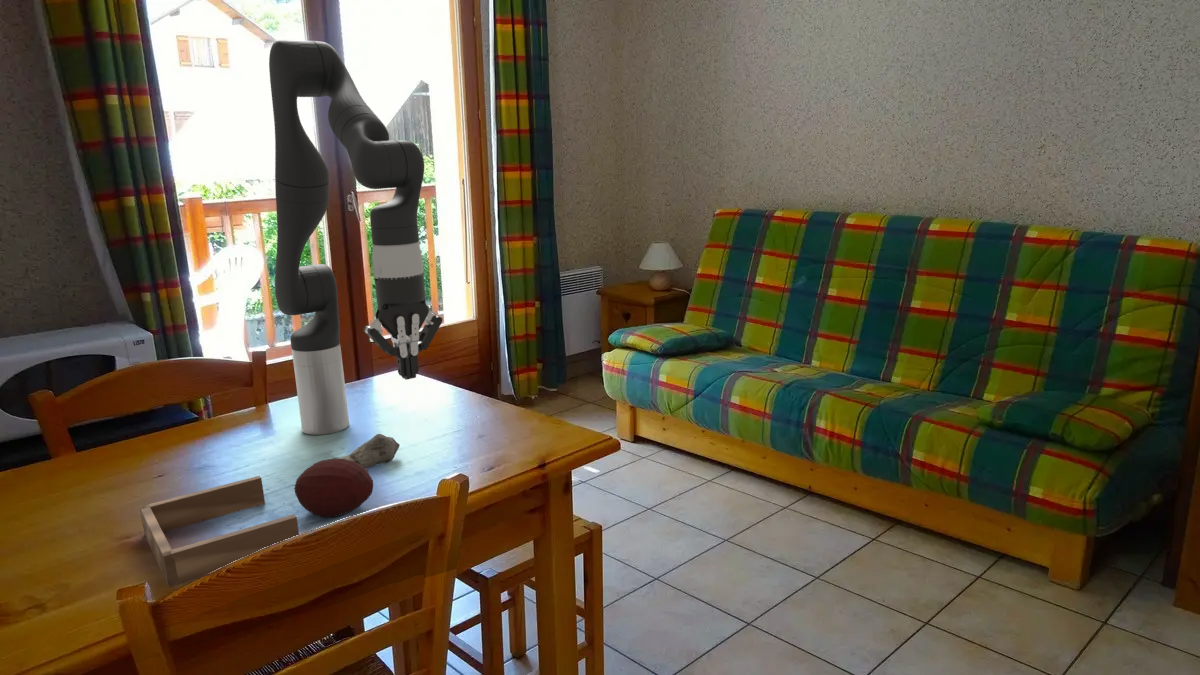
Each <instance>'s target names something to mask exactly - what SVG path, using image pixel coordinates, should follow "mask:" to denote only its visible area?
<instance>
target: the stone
mask: <svg viewBox="0 0 1200 675" xmlns="http://www.w3.org/2000/svg"><path fill="white" fill-rule="evenodd" d="M399 448H400V443H399V442H397V441H396V440H395V439H394V437H390V436H386V435H385V434H382V433H377V434H375V435H374V436H373V437H372V438H371V439H369V440H367V441H366V442H364V443H363V444H361V445H360V446H358V447H356V449H354V450H353V451H352V452H351V453H350V454H349V455H345V456H341V457H339V459H346V460H350V461H354V462H356V463H358V464H359V465H361V466H363V467H364V468H365V469H366V470H368V469H369V468H370V469H371V468H373V467H376V466H377V465H380V464H384V463H386V464H387V463H390V462H392V461H393V460H394V458H395V456H396V454H397V452H398V450H399Z"/></svg>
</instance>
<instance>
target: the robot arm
mask: <svg viewBox="0 0 1200 675" xmlns="http://www.w3.org/2000/svg"><path fill="white" fill-rule="evenodd" d="M268 61H269V62H268V67H269V68H268V70H269V81H270V82H269V84H270V91H271V103H272V112H273V121H274V122H273V124H274V139H275V140H274V143H275V144H274V145H275V146H274V148H275V150H274V151H275V154H274V155H275V157H274V160H275V162H274V163H275V164H274V166H275V167H274V168H275V169H274V183H275V186H274V187H275V190H274V191H275V204H276V205H275V208H276V209H275V210H276V229H277V230H276V231H277V233H276V234H277V239H276V240H277V241H276V256H275V257H276V258H275V271H274V272H275V273H274V274H275V276H274V293H275V300H276V304H277V306H278V309H279V311H281V313H282V314H284V315H285V316H298V315H306V314H312V313H314V316H313V318H312V319H311V320H310V321H309V322H308V323H306V324H305V325H303V326H302V327H300V328H299V329H296V330H295V331H293V333H291V335H290V339H289V340H290V341H289V342H290V347H291V348H290V349H291V355H292V362H293V369H294V377H295V384H296V394H297V399H298V400H297V401H298V408H299V417H300V424H301V430H302V432H303V433H304V434H306V435H311V436H313V435H315V436H317V435H319V436H320V435H328V434H335V433H337V432H340V431H343V430H344V429H346V428H348V427H349V425H350V418H349V409H348V399H347V391H346V382H345V373H344V366H343V357H342V356H343V355H342V348H341V340H340V334H341V333H340V331H341V329H340V328H341V325H340V318H339V317H340V316H339V299H338V298H339V296H338V295H339V294H338V285H337V280H336V277H335V274H334V272H333V270H332V268H331V267H330V266H329V265H328V264H324V263H320V264H311V265H309V264H308V265H303V266H302V265H301V266H300V263H301V258H302V256H303V251H304V248H305V247H306V244H307V242H308V241H309V239H310V237H311V236H312V235H313V233H314V232H315V230H316V229H317V228H318V226H319V224H320V223H321V221H322V219H323V218H324V216H325V214H326V212H327V210H328V207H329V201H330V200H329V199H330V193H329V192H330V173H329V169H328V167H327V164H326V162H325V160H324V158H323V157H322V155H321V153H320V152H319V151H318V149H317V147H316V146H315V145H314V143H313V142H312V140H311V139H310V137H309V135H308V134H307V133H306V131H305V128H304V126H303V124H302V123H301V119H300V115H299V108H298V98H322V97H329V98H331V101H330V104H329V106H328V110H327V111H328V112H327V119H328V124H329V127H330V128H331V130H332V132H333V134H334V135H335V137H336V139H338V140H339V142H340V143H341V144H342V146H343V147H344V148H345V149H346V151H347V154H348V157H349V160H350V163H351V168H352V171H353V175H354V178H355V180H356V182H358V183H359V184H360V185H361V186H363V187H365V188H367V189H372V190H381V189H382V190H383V189H394V188H395V191H394V195H393V197H392V198H391V200H390V201H387V202H385V203H381V204H378V205H376V206H374V207H373V208H372V209H371V210H370V214H369V219H370V221H369V222H370V230H371V241H372V266H373V276H374V278H373V279H374V288H375V296H376V297H375V298H376V303H377V310H376V312H375V320H373V321H372V322H371V323H370V324H369V325H365V326H364V327H363V332H364V334H366V336H368V338H370V339H371V340H372V341H373V343H374V344H376V346H377V347H379V349H381V350H382V352H383V353H385V354H387V355H389V356H391V357H394V356H395V358H396V366H397V374H398V375H399V376H400V377H401V378H402V379H404V380H406V381H407V380H410V379H415V378H417V374H419V370H420V369H419V359H418V355H419V353H420V352H422V351H424V350H427V349H428V348H429V347H430V344H431V342H432V341H433V339H434V337H435V335H436V333H437V332H438V330H439V328H440V326H441V324H442V323H443V317H441V316H439V315H436V314H434V313H433V312H430V309H429V306H428V305H427V303H426V288H425V287H426V286H425V277H424V262H423V254H422V251H421V246H420V239H419V238H420V237H419V226H418V208H419V203H420V196H421V190H422V185H423V181H424V174H425V161H424V160H425V159H424V156H423V153H422V152H421V151H422V150H420V148H419V147H418V146H417V144H416V143H414V142H413V141H411V140H405V139H404V140H403V139H401V140H399V139H398V140H390V134H389V132H388V129H387V127H386V125H385V124H384V123H383V122H382V120H381V119H380V118H379V117H378V116H377V115H376V113H374V111H373V110H372V109H371V108H370V106H368V104H367V103H366V102H365V100H364V99H363V97H362V96H361V94H360V92H359V91H358V88H357V87H356V86H357V85H356V84H355V82H354V80H353V78H352V77H351V74H350V73H349V71H348V68H347V67H346V65H345V63H344V61H343V60H342V58H341V56H340V54H339V53H338V51H337V50H336V49H335V48H334V47H333V46H332V45H331V44H329V43H328V42H324V41H318V40H302V39H301V40H298V39H297V40H296V39H278V40H276V41H274V42H273V43H272V45H271V46H270V50H269V58H268ZM423 324H424V325H423ZM422 326H423V328H422ZM382 328H383V329H384V330H385V331H386V332H387V333H388V334H389V335H390V340H391V342H392V344H391V343H390V342H389V341H388V340H387V339H386V338H385V337H384V336H383V329H382ZM421 328H422V329H421ZM420 330H421V331H420Z"/></svg>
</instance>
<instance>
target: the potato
mask: <svg viewBox="0 0 1200 675" xmlns="http://www.w3.org/2000/svg"><path fill="white" fill-rule="evenodd" d="M293 490H294V493H295V496H296V498H297V501H298V502H299V504H300V505H301V507H303V508H304V510H306V511H307V512H309V513H311V514H312V515H314V516H318V517H321V518H335V517H337V516H341V515H345V514H348V513H350V512H352V511H354V510H355V509H357V508H359V507H360V506H362V504H363V503H365V502H366V501H367V500H368V499H369V498H370V496H371V495H372V493H373V490H374V480H373V479H372V476H371V475H370V473H369V471H368V469H365V468H364V467H363V466H361V465H359V464H358V463H356V462H354V461H350V460H346V459H340V458H327V459H323V460H319V461H317V462H315V463H313V464H312V465H310V466H309V467H307V468H306V469H305V470H303V471H302V472H301V474H300V475H299V476H298V477H297V479H296V481H295V484H294V488H293Z"/></svg>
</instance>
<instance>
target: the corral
mask: <svg viewBox="0 0 1200 675" xmlns="http://www.w3.org/2000/svg"><path fill="white" fill-rule="evenodd" d="M264 493H265V492H264V486H263V479H262V477H261V476H260V475H257V476H254V477H249V478H245V479H241V480H237V481H233V482H230V483H224V484H222V485H218V486H214V487H211V488H210V487H209V488H207V489H202V490H199V491H195V492H191V493H187V494H182V495H179V496H175V497H172V498H168V499H165V500H160V501H156V502H152V503H149V504H145V505H140V506H139V512H140V517H141V522H142V528H143V532H144V536H145V538H146V540H147V543H148V544H149V547H150V549H151V551H152V553H153V555H154V557H155V560H156V562H157V564H158V566H159V569H160V571H161V572H162V575H163V577H164V579H165V581H166V584H167V585H168V588H170V587H174V586H176V585H180V584H184V583H186V582H189V581H192V580H196V579H199V578H202V577H201V576H203V577H205V576H204V575H206V574H208V573H210V572H212V571H214V570H216V569H218V568H220V567H223V566H225V565H227V564H229V563H231V562H233V561H235V560H238V559H240V558H242V557H245V556H247V555H250V554H252V553H254V552H256V551H258V550H260V549H262V548H264V547H267V546H270V545H272V544H274V543H277V542H280V541H283V540H285V539H288V538H291V537H293V536H296V535H299V536H300V530H299V524H298V523H299V522H298V517H297V515H296V514H294V513H293V514H290V515H286V516H283V517H280V518H275V519H272V520H270V521H266V522H262V523H259V524H255V525H253V526H248V527H245V528H242V529H238V530H236V531H235V530H234V531H232V532H231V531H230V532H228V533H225V534H222V535H219V536H214V537H210V538H208V539H204V540H201V541H197V542H194V543H191V544H186V545H183V546H181V547H177V548H173V549H172V548H171V545H170V543H169V542H168V540H167V537H166V535H165V534H164V533H165V532H169V531H173V530H176V529H180V528H184V527H187V526H191V525H194V524H197V523H198V524H199V523H202V522H205V521H209V520H212V519H216V518H218V517H222V516H223V517H224V516H226V515H230V514H233V513H237V512H241V511H244V510H248V509H251V508H255V507H259V506H261V505H265V504H266V501H265V494H264ZM206 576H207V575H206Z"/></svg>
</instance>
